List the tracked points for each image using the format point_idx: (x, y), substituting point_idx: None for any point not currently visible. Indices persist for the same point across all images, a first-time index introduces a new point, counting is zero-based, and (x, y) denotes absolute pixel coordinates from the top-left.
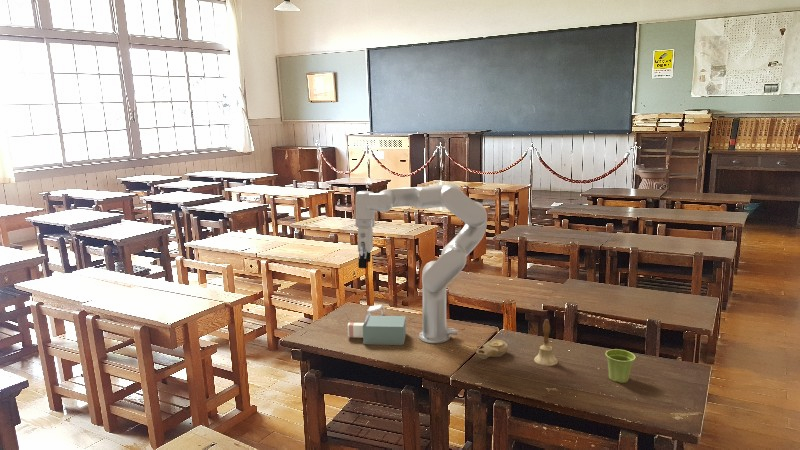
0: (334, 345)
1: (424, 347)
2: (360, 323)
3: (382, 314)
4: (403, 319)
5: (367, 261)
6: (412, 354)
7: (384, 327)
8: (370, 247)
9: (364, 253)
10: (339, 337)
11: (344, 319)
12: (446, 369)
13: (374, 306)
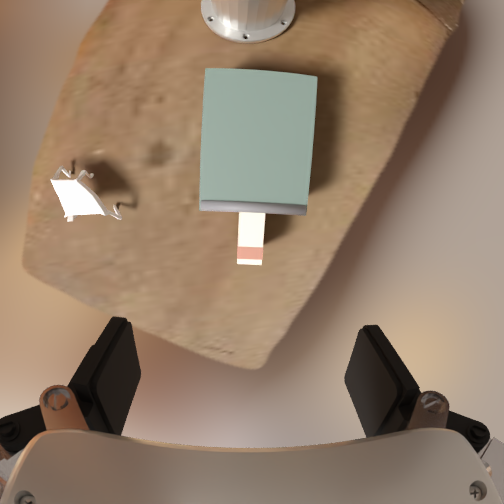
0: (297, 274)
1: (319, 36)
2: (245, 225)
3: (70, 173)
4: (242, 73)
5: (133, 340)
6: (364, 71)
7: (312, 140)
8: (441, 493)
9: (115, 423)
10: (244, 270)
11: (114, 274)
12: (428, 25)
13: (67, 201)
